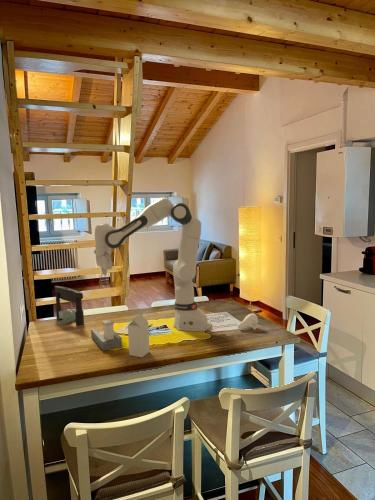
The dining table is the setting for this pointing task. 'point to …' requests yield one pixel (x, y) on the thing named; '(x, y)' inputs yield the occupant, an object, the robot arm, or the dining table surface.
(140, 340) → the milk carton
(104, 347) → the switch panel
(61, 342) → the dining table surface
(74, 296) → the stool
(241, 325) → the white rounded lump
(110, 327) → the switch knob
